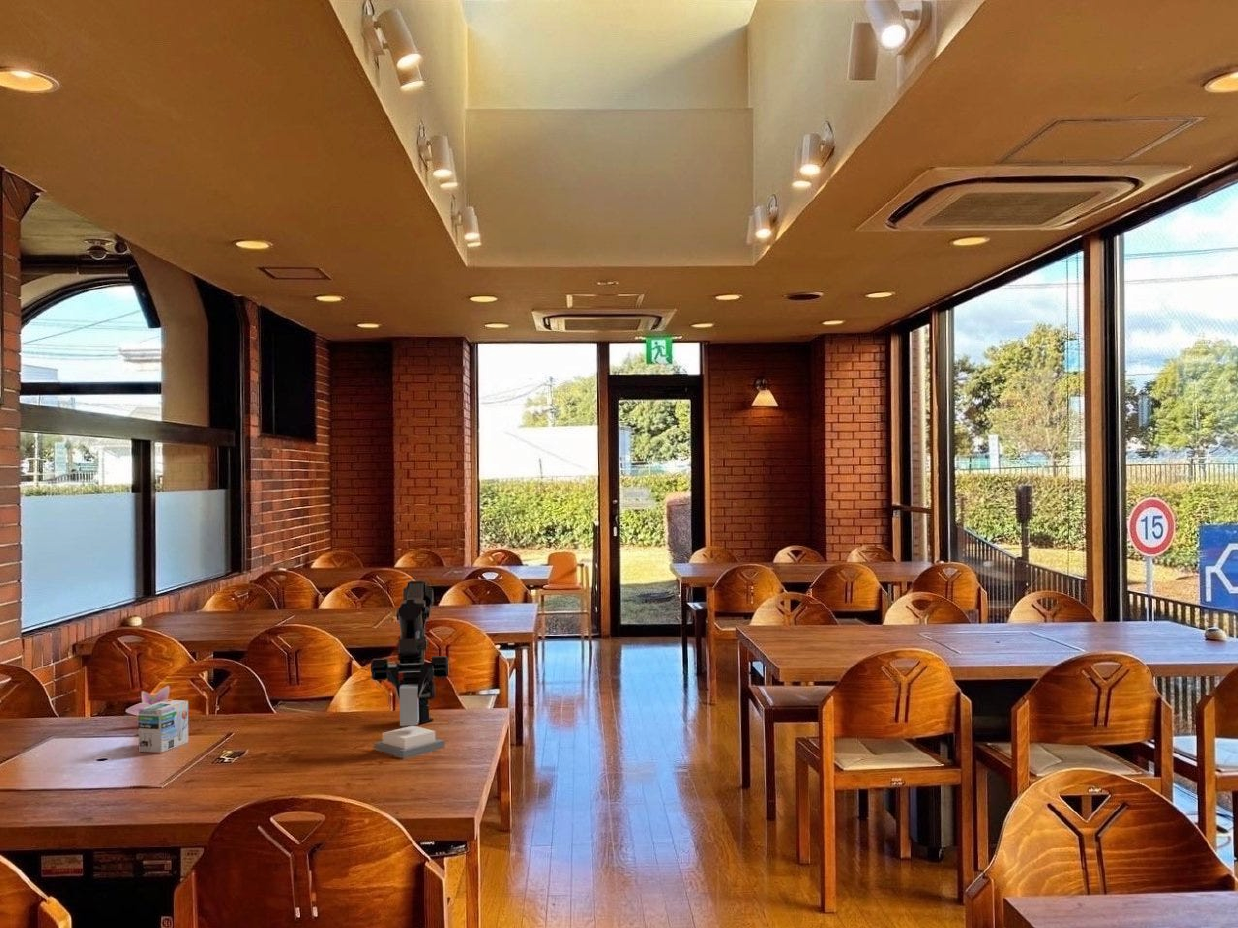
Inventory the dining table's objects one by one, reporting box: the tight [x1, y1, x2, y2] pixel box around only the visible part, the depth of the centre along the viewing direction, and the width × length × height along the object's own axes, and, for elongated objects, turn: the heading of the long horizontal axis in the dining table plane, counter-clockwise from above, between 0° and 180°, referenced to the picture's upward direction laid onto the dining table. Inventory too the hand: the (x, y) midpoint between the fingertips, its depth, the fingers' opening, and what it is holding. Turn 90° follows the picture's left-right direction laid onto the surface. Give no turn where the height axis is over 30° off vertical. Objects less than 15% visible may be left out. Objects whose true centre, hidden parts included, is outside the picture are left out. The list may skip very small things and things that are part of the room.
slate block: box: [399, 684, 419, 727], centre depth 234 cm, size 4×4×9 cm
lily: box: [125, 685, 171, 717], centre depth 262 cm, size 12×12×10 cm
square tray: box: [373, 737, 446, 760], centre depth 233 cm, size 12×12×2 cm
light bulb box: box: [138, 699, 189, 754], centre depth 239 cm, size 11×7×11 cm, turn 168°
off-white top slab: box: [382, 725, 436, 749], centre depth 233 cm, size 9×9×2 cm
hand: (408, 697), depth 232 cm, fingers closed on slate block, 4 cm apart
